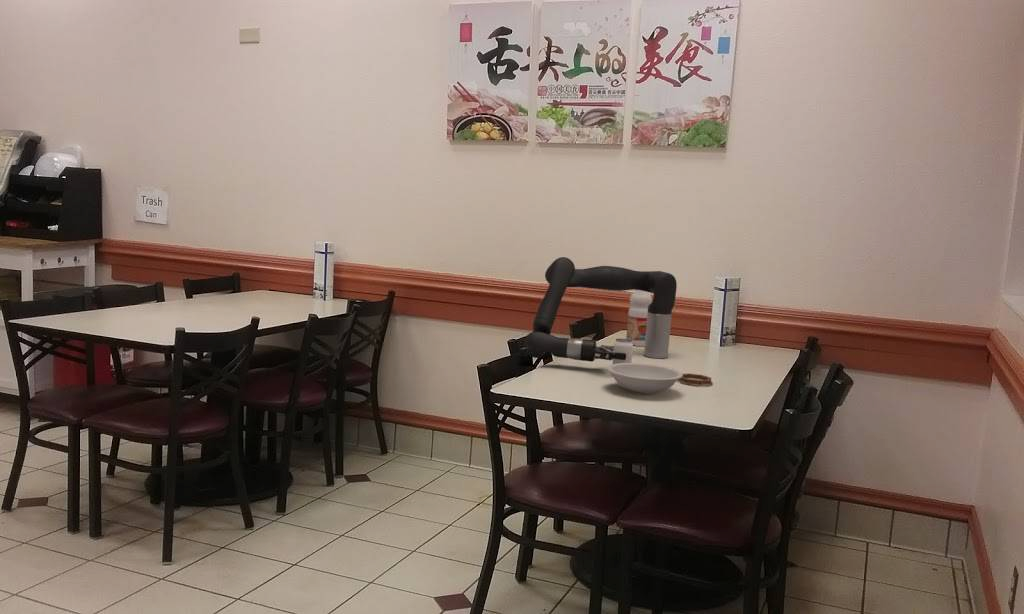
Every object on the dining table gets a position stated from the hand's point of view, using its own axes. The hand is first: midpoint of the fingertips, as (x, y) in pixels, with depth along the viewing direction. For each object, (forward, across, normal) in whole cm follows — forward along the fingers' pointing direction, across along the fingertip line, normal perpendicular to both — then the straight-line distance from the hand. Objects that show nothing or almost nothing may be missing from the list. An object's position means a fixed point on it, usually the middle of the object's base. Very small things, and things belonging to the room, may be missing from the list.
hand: (627, 354), depth 290 cm
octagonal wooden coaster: (+23, 0, +7) cm, 24 cm away
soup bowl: (+8, -22, +7) cm, 25 cm away
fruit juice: (-4, +64, +7) cm, 65 cm away
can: (-2, 0, +7) cm, 7 cm away
